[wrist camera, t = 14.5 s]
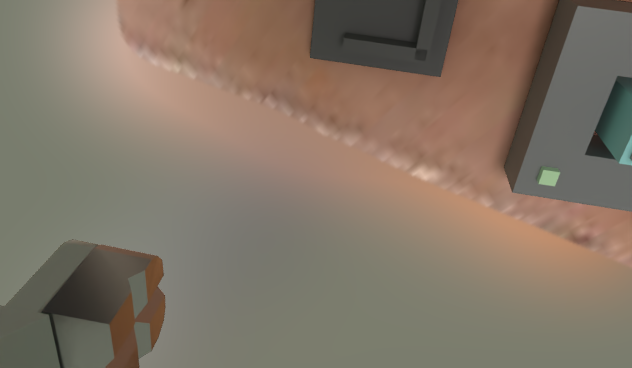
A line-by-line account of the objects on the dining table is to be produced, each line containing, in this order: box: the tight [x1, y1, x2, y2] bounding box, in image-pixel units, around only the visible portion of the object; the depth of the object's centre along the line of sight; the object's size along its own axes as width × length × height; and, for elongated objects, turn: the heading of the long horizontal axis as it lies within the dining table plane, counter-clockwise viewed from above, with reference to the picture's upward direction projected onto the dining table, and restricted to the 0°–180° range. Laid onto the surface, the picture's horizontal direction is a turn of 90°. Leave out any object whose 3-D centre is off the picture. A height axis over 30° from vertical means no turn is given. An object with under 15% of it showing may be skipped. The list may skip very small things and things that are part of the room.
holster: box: [310, 0, 458, 77], centre depth 38 cm, size 10×10×2 cm
